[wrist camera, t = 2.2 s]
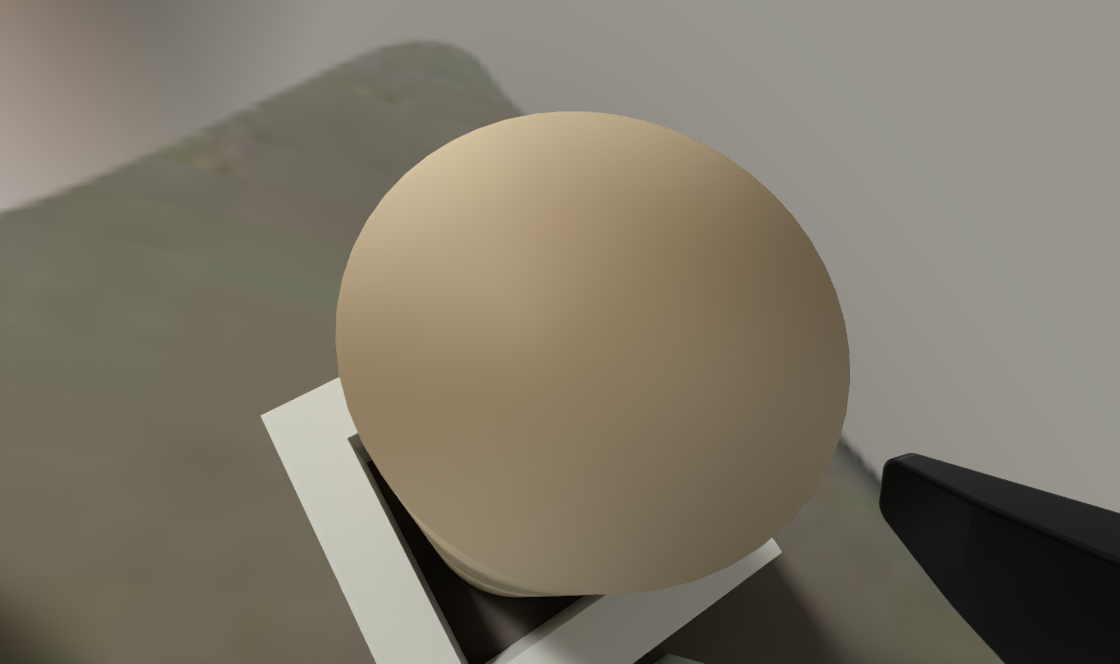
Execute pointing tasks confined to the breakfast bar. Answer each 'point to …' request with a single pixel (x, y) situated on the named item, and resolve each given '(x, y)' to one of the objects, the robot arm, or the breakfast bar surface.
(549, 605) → the breakfast bar surface
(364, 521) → the white square frame
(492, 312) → the beech dowel
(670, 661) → the pale green tray
